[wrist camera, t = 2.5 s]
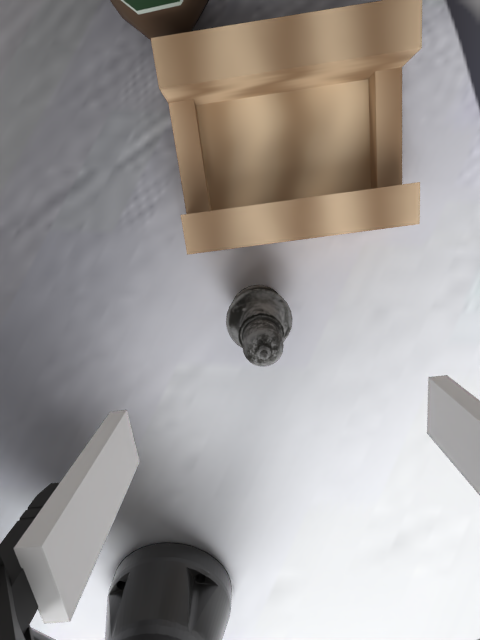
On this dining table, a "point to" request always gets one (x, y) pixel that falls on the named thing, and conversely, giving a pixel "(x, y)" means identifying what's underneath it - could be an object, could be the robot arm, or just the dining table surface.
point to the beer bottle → (160, 15)
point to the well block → (291, 124)
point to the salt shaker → (259, 324)
